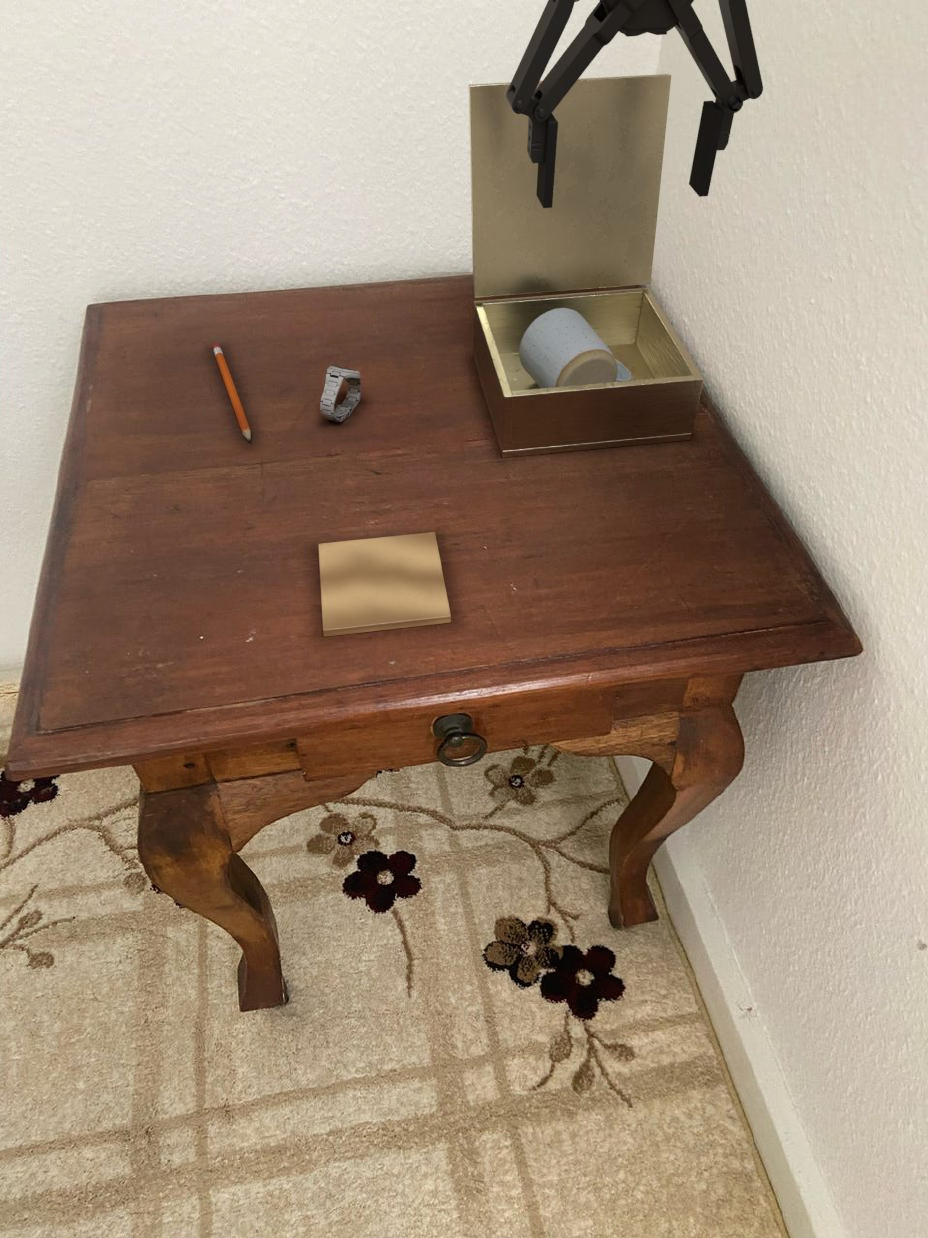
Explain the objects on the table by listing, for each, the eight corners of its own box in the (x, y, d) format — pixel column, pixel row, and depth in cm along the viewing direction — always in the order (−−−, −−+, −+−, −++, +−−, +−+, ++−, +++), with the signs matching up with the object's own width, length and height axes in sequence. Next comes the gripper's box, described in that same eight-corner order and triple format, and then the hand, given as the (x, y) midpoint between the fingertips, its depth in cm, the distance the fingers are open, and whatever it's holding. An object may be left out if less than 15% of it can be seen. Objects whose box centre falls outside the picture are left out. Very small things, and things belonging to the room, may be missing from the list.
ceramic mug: (552, 425, 85) (560, 354, 79) (515, 382, 90) (520, 313, 84) (645, 401, 88) (659, 331, 82) (604, 361, 93) (614, 292, 87)
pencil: (221, 350, 96) (219, 342, 96) (256, 445, 85) (254, 438, 84) (213, 351, 96) (211, 344, 96) (247, 447, 84) (245, 440, 84)
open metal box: (690, 440, 85) (704, 378, 80) (502, 458, 83) (504, 396, 78) (639, 345, 96) (648, 287, 91) (473, 359, 95) (473, 300, 90)
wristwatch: (370, 400, 90) (366, 356, 86) (343, 433, 86) (337, 389, 82) (340, 393, 90) (335, 349, 87) (311, 425, 87) (304, 381, 83)
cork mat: (451, 622, 69) (451, 616, 68) (324, 637, 68) (322, 630, 67) (435, 538, 75) (435, 531, 75) (319, 550, 74) (318, 543, 74)
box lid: (671, 74, 79) (653, 68, 83) (469, 85, 78) (461, 78, 82) (650, 284, 91) (636, 269, 95) (474, 297, 89) (467, 282, 93)
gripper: (814, -144, 62) (744, 168, 78) (471, -134, 60) (470, 187, 76) (862, -127, 57) (778, 203, 73) (491, -115, 55) (486, 225, 71)
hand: (621, 196), depth 74 cm, fingers open, 13 cm apart
